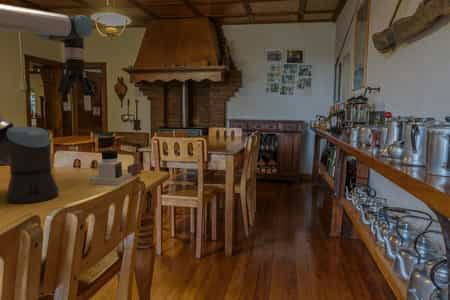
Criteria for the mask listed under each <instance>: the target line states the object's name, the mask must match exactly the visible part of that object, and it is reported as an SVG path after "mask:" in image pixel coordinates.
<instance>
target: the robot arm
mask: <svg viewBox="0 0 450 300" xmlns="http://www.w3.org/2000/svg"><path fill="white" fill-rule="evenodd" d="M93 28H94V27H93V23H92V21H91V19H90V18H89V17H88V16H86V15H85V14H84V15H83V14H76V15H69V14H63V13H57V12H51V11H46V10H41V9H35V8H33V9H32V8H30V7H29V8H28V7H23V6H18V5H17V6H16V5H10V4H6V3H5V4H4V3H0V31H3V32H4V31H5V32H12V33H13V32H15V33H25V34H27V33H28V34H35V35H36V36H37V37H38V38H40V39H43V40H45V41H52V42H53V41H54V42H56V43H57V42H59V43H63V45H64V46H63V48H64V58H65V69H62V70H61V73H62V74H61V78H60V81H59V85H58V88H57V92H58V93H59V94H60V95H61V97H62V98H61V99H62V102H63V104H62V105H63V111H64V112H66V111H68V112H69V111H71V110H72V108H71V107H72V106H71V95H70V94H69V93H70V91H71V89H72V87H73V85H74V83H76V84H78V85H79V86H80V88H81V90H82V92H83V94H84V95H83V104H84V105H83V106H84V111H92V105H91V103H92V99H91V98H92V96H93V95H94V90H93V87H92V84H91V81H90V77H89V76H90V75H89V73H88V72H84V70H85V69H86V61H85V59H86V57H85V41H84V39H85V38H86V37H89V36H91V35H92V33H93V30H94V29H93ZM50 144H51V141H50V135H49V132H48V131H47V129H45V128H41V127H37V126H36V127H35V126H14V124H13V122H12V120H11V119H8V118H5V117H4V115H3V114H2V112H1V111H0V165H9V169H10V179H9V181H8V182H9V183H8V188H7V191H6V193H5V199H6V200H5V201H6V203H8V204H9V203H11V204H15V205H18V204H34V203H40V202H45V201H49V200H53V199H55V198H57V197H59V195H60V194H59V187H58V186H57V184H56V181H55V179H54V176H53V174H52V162H51V161H52V160H51V145H50Z"/></svg>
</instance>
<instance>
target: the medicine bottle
mask: <svg viewBox="0 0 450 300" xmlns="http://www.w3.org/2000/svg"><path fill="white" fill-rule="evenodd" d="M118 156H119V155H118V151H117V150H115V149H106V150H102V151H101V162H99V163H98V164H97V172H98V174H97V175H98V176H99V178H105V179H117V178H119V177H122V173H123V169H122V168H123V166H122V164H123V163H122V160H119V158H118Z"/></svg>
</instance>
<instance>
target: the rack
mask: <svg viewBox="0 0 450 300" xmlns="http://www.w3.org/2000/svg"><path fill="white" fill-rule="evenodd" d="M141 165H142V164H141V161H140V162H139V161H138V162H134V163H131V164H129V165H127V173H131V178H133V177H135V176H137V175H140V174H141V173H142V168H141V167H142V166H141Z"/></svg>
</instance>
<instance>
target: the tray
mask: <svg viewBox="0 0 450 300" xmlns="http://www.w3.org/2000/svg"><path fill="white" fill-rule="evenodd" d="M130 178H131V179H132V177H131V173H128V172H125V173H124V172H122V177H119V178H117V179H105V178H99V176H98V174H96V175H94V176H91V177H88V185H103V186H119V185H121V184H123V183H125V182H127V181H126V180H128V179H130ZM131 179H130V180H131ZM124 181H125V182H124ZM128 181H129V180H128ZM122 182H123V183H122Z"/></svg>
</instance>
